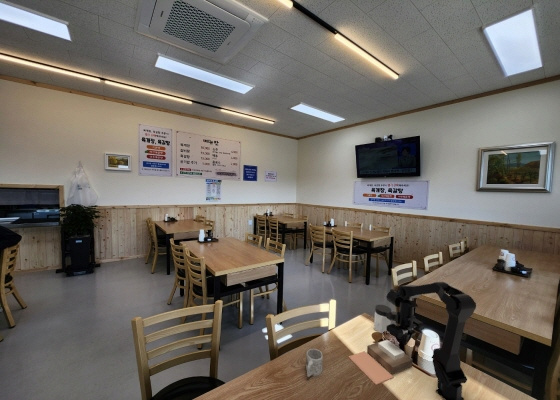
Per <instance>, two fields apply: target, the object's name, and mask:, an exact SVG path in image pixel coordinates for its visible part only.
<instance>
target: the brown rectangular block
mask: <svg viewBox="0 0 560 400" xmlns="http://www.w3.org/2000/svg"><path fill="white" fill-rule="evenodd" d="M385 340H386V339H384V340H381V341H378V342H375V343H372V344H369V345H366V346H367V347H366V353H367V354H368V355H370V356H371V357H372V358H373V359H374V360H375V361H376V362H377V363H379V364H380V365H381V366H382V367H383V368H384V369H385V370H386V371H388V372H389V373H390V374H391V375H392V376H395V375H397V374H399V373H402V372H404V371H406V370H409V369H411V368H413V358H411V357H410V356H409V355H407V354H406V353H405V352H404V357H402V358H400V359H397V360H393V359H392V358H391V357H390V356H388V355H387V354H386V353H385V352H383V351H382V350H381V349H380V348H379V347H378V343H379V342H382V341H385Z"/></svg>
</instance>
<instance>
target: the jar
mask: <svg viewBox="0 0 560 400" xmlns="http://www.w3.org/2000/svg"><path fill="white" fill-rule="evenodd" d="M387 312H392V308H391V307H389V306H387V305H384V304H376V305H375V307H374V323H373V329H374V330H376V331H377V332H378V333H380V334H384V333H383V332H384V331H386V327H387V326H388V325H390V324H392V320H389V319H387V317H386V313H387Z"/></svg>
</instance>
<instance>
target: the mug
mask: <svg viewBox="0 0 560 400" xmlns="http://www.w3.org/2000/svg"><path fill="white" fill-rule="evenodd" d="M305 362H306V363H305V365H306V367H305V368H306V376H307V378H310V377H311V376H313V377H314V376H316V377H317V376H320V375H321V374H322V373H323V353H322V351H321V350H319V349H318V348H309V349H308V350H307V351H306V361H305Z"/></svg>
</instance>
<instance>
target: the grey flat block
mask: <svg viewBox="0 0 560 400" xmlns="http://www.w3.org/2000/svg"><path fill="white" fill-rule="evenodd" d="M384 340H385V341H383V340H381V341H382V342H380V341H378V342H379V343H378V347H379V348H380V349H381V350H382V351H383V352H385V353H386V354H387V355H388V356H390V357H391V358H392V359H393V360H397V359H400V358H402V357H404V353H405V351H403V350H402V349H401V348H400V347H398V346H397V345H395V344H394V343H393V342H391V341H390V340H388V339H384Z"/></svg>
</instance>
